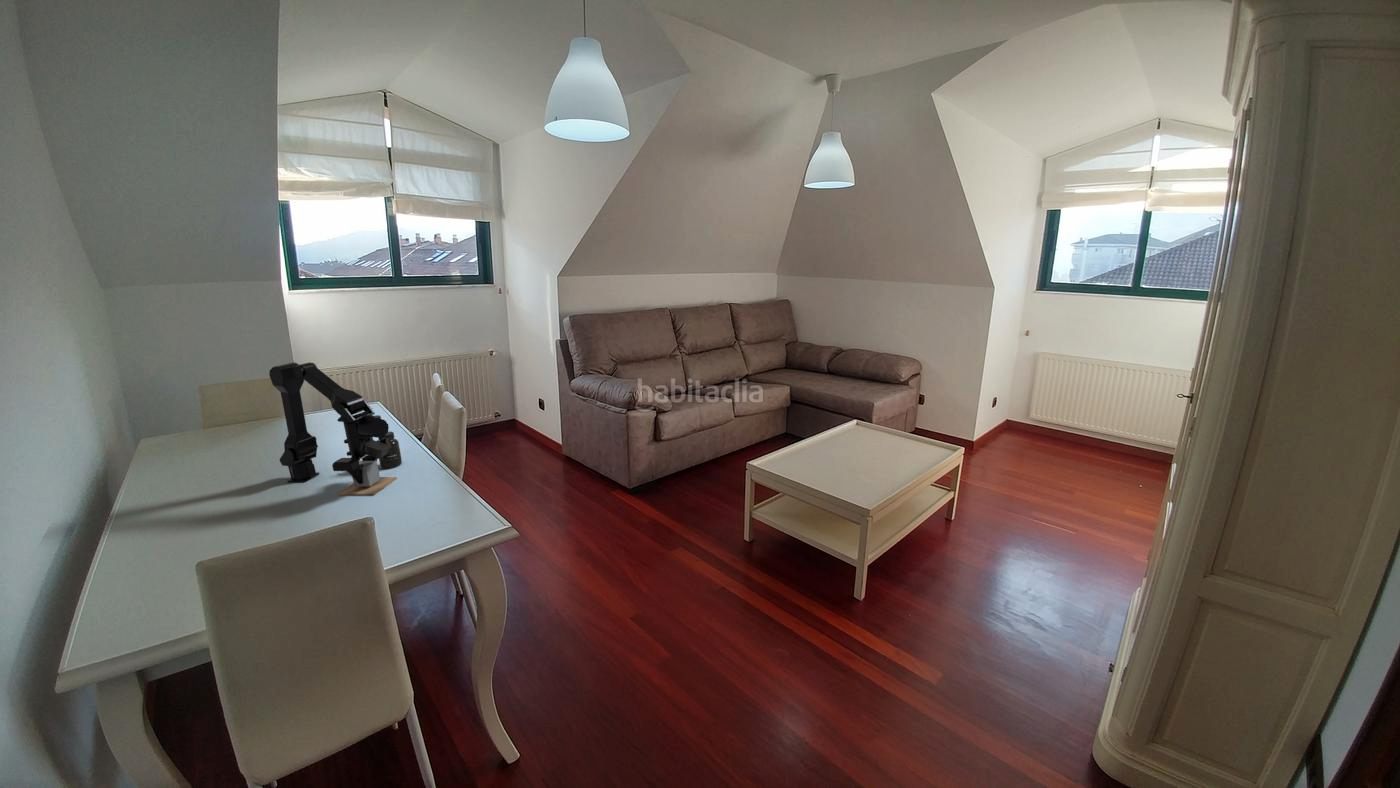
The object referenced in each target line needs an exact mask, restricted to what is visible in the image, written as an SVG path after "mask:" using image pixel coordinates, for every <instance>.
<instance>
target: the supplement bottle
mask: <svg viewBox="0 0 1400 788" xmlns="http://www.w3.org/2000/svg"><path fill="white" fill-rule="evenodd" d="M385 437H386V438H389V440H390V446H391V448H389V449H388V453H387V455H385V456H383V457H382V458H380V459H378V460H379V461H378V462H379V465H380V468H381V469H385V470H387V469H393V468H398V467H400V466H401V465H402V464H403V461H402V460H403V459H402V453H401V448H400V443H399V440H398V439H396V438H395V433H394V431H389V430H388V432H387V434H386V435H385V436H384V437H381V438H378V437H377V438H378V439H377V440H379V441H380V440H381V439H383V438H385Z"/></svg>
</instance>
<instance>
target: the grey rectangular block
mask: <svg viewBox="0 0 1400 788" xmlns="http://www.w3.org/2000/svg"><path fill="white" fill-rule="evenodd" d="M377 461H378V460H377ZM377 461H363V460H360V464H365V465H364V466H363V468H362V477H363V484H359V483H358V482H357V481H356V480H355V479H354V478H353V477H352V476H351V478H352V481H353V482H352V483H354V486H371V485H373V484H374V483H376V482H377V481H379V480H380V477H381V476H380V471H379V467H378V462H377Z"/></svg>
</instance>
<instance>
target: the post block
mask: <svg viewBox="0 0 1400 788" xmlns="http://www.w3.org/2000/svg"><path fill="white" fill-rule="evenodd" d="M396 480H398V477H397V476H380V480H379V481H377V482H376V483H374V484H373V485H371V486H354V482H352V483H351V484H350V485H348V486H346V487H345V488H343V489H342V490H340V491H339V492H336V493H337V496H375V495H377V494H378V493H380V492H381V491H382V490H384V489H385V488H386V487H388V486H389V485H390V484H392V483H393V482H394V483H395V481H396Z"/></svg>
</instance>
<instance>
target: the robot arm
mask: <svg viewBox="0 0 1400 788" xmlns="http://www.w3.org/2000/svg"><path fill="white" fill-rule="evenodd" d="M268 374H269V375H268V376H269V379H270V381H271V383H272V386H273V387H274V388H275V389H276V390H277V391H278V392H279V393H280V396H281V402H282V408H283V412H284V417H285V422H286V428H287V433H288V435H287V437H286V438H285V441H284V444H283V446H284V451H283V453H282V455H281V457H280V458H279V462H280V464H281V465H282V466H283V467H287V468H288V472H289V475H290V478H289V479H288V480H287V483H292V482H293V483H306V482H308V481H309V480H311V479H313V478H315V477H317V476H319V475H320V472H316V468H315V464H314V462H313V460H312V459H315V458H317V451H318V448H319V445H318V442H317V437H316V436H315V435H311V434H310V433H309V432H308V428H307V423H306V418H305V417H306V416H305V413H304V411H305V410H304V405H303V401H302V397H301V396H302V395H301V389H302V387H303V384H304V383H305V382H306V383H308V384H309V385H310V386H312V387H313V388H314V389H315V390H316V391H318V392H319V393H321V394H322V395H323V396H324V397H326V399H328V401H330V404H331V408H332V409H333V410H334V411H335V412H336V413H337V414H338V415H339V416H340V417H338V419H337V422H339V423H343V428H344V431H345V436H346V439H344V440H343V443H344V444H347V445H348V450H349V451H347V452H346V456H348V457H341V458H338V459H337V460H335V461H334V462H333V463H332V464H331V467H332V470H333V472H347V473H348V474H349V475H350V476H351V478H352V477H353V478H354V479H355V480H356V481H357V482H358V483H359V484H363V477H362V468H363V466H364V465H365V464H360V461H378V460H379V459H380V458H382V457H383V456H385V455H387V453H388V449H389V448H391V446H390V440H389V438H386V437H385V438H383V439H381V440H379V439H377V440H375V439H374V438H381V437H384V436H385V435H386V434H387V432H389V423H388V422H387V421H386V420H385V419H382V417H381V415H375V411H374V410H373V408H372V407H371V405H370V404H368V402H367V401H366V400H365V398H364V397H363V396H362V395H361V394H358V393H357V392H355V391H354V390H352V389H351V390H350V389H346V388H345V387H342V386H341V385H339V384H338V383H337V382H336V381H334V380H333V379H332V378H331V377H329V376H328V375H327V374H326V373H324V372H323V371H322V370H321V369H320V368H318V366H317V365H316V364H315V363H314V362H306V363H300V364H298V363H297V362H288V363H284V364H281V365H276V366H272V367H271V368H270V369H269V373H268ZM349 456H350V457H349ZM353 478H352V479H353Z"/></svg>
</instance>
